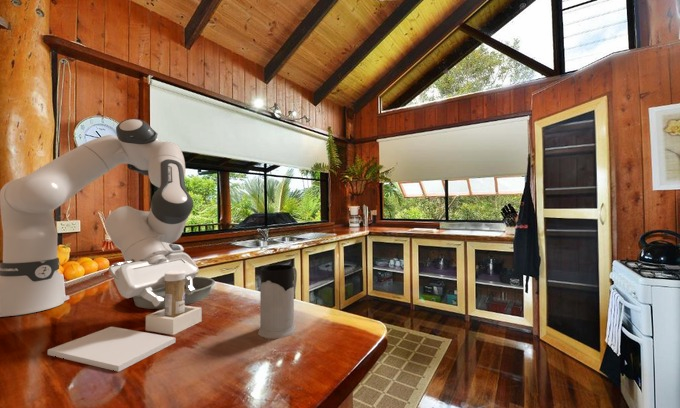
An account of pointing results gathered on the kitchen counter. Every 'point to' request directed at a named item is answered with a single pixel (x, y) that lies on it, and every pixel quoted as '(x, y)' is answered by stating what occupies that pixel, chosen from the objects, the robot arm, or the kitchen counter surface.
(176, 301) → the sprinkles bottle
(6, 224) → the robot arm
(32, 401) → the kitchen counter surface
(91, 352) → the white board
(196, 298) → the cake pan
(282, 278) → the grey ceramic mug
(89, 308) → the kitchen counter surface
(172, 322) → the stand
